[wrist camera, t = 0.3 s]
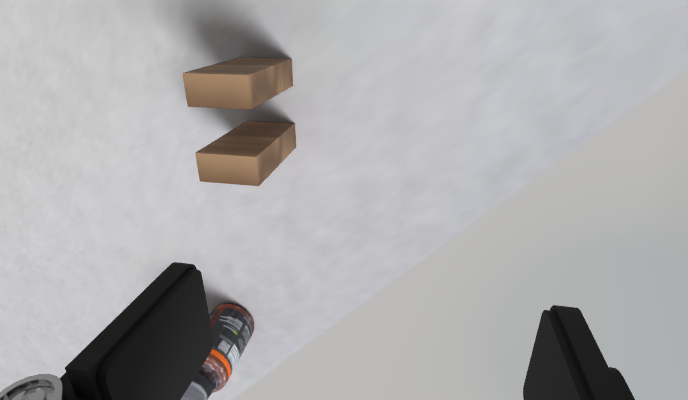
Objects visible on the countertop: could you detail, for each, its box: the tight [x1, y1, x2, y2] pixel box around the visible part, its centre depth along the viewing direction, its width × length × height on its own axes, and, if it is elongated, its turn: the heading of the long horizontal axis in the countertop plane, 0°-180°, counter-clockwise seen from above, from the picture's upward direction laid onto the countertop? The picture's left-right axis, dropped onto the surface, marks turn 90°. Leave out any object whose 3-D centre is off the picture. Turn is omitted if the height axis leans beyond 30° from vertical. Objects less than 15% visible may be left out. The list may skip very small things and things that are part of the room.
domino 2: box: [195, 121, 296, 186], centre depth 37 cm, size 2×5×10 cm, turn 90°
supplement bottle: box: [181, 304, 254, 400], centre depth 48 cm, size 6×6×11 cm
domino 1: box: [183, 58, 293, 110], centre depth 34 cm, size 2×5×10 cm, turn 90°
